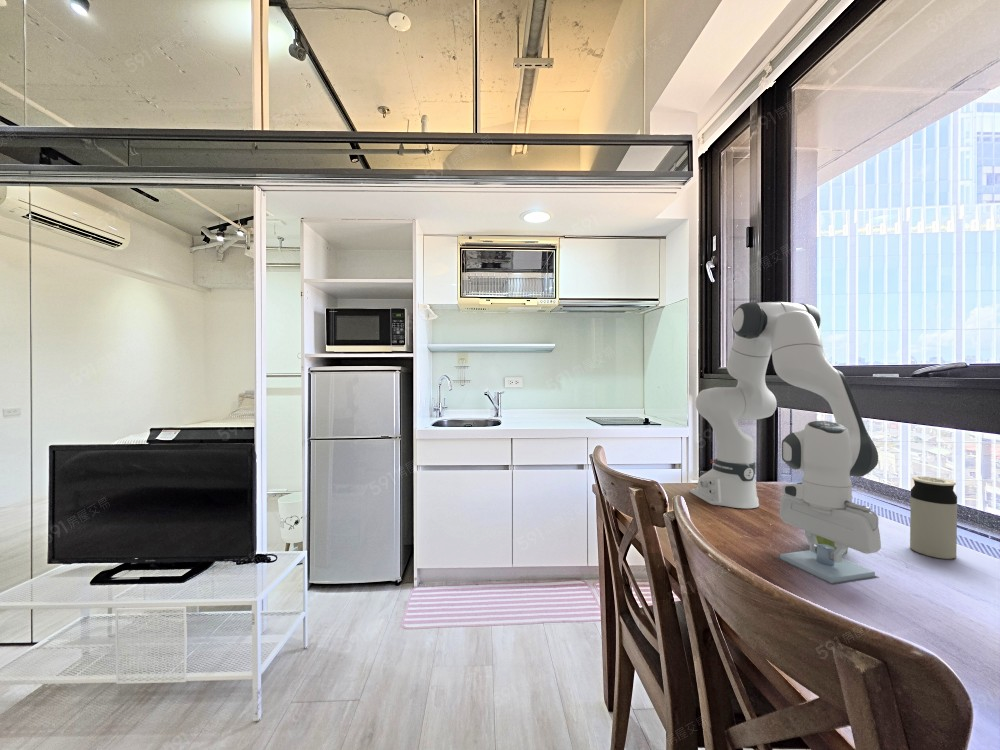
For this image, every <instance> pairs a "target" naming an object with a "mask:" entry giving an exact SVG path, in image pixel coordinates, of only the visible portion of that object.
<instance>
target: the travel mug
mask: <svg viewBox="0 0 1000 750" xmlns="http://www.w3.org/2000/svg"><path fill="white" fill-rule="evenodd" d="M911 479H912V480H913V482H914V483H913V484H914V485H913V487H912V488H911V489H910V510H909V511H910V519H909V521H910V525H909V527H910V528H909V530H910V531H909V533H910V534H909V537H910V538H909V547H910V549H911V550H913V551H914V552H916V553H918V554H921V555H923V556H926V557H931V558H935V559H943V560H951V559H955V558H957V548H958V547H957V545H958V544H957V542H958V541H957V538H958V536H957V535H958V533H957V532H958V495H957V494H956V492H955V491H954V487H955V485H957V484H956V483H957V482H955V481H953V480H950V479H945V478H941V477H934V476H926V475H919V476H918V475H917V476H915V475H914V476H912V478H911Z"/></svg>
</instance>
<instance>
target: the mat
mask: <svg viewBox="0 0 1000 750" xmlns="http://www.w3.org/2000/svg"><path fill="white" fill-rule="evenodd" d="M777 560H781V561H782V562H784V563H786V564H788V565H791V566H792V567H794V568H796V569H798V570H800V571H803V572H805V573H807V574H809V575H811V576H813V577H815V578H817V579H818V580H821V581H822V582H826V583H828V584H830V585H832V586H835V585H839V584H840V585H841V584H847V583H854V582H860V581H864V580H872V579H878V578H880V576H878V575H875V576H874V577H868V578H861V579H855V580H849V581H842V582H836V583H830V582H828V581H826V580H824V579H822V578H820V577H818V576H816V575H814V574H812V573H809V572H807V571H805V570H803V569H801V568H799V567H797V566H795V565H793V564H791V563H789V562H787V561H785V560H783V559H780V556H778V557H777Z"/></svg>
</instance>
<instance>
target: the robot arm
mask: <svg viewBox="0 0 1000 750" xmlns="http://www.w3.org/2000/svg"><path fill="white" fill-rule="evenodd" d="M821 322H822V320H821V315H820V312H819V310H818V309H817V307H815V306H813V305H810V304H807V303H806V304H805V303H802V302H801V303H795V302H788V301H787V302H785V301H774V302H773V301H767V302H766V301H765V302H764V301H763V302H756V301H749V302H745V303H741V304H740V305H738V307H736V309H735V310H734V312H733V315H732V319H731V326H732V330H733V332H734V334H735V336H734V338H733V342H732V345H731V349H730V351H729V356H728V359H727V364H726V370H727V372H728V374H729V375H730V376H731V377H732V378H733V379H735V380H737V384H736V386H729V387H723V386H722V387H721V386H718V387H716V386H715V387H709V388H706V389H705V388H704V389H702V390H701V391H699V393H698V394H697V395H696V398H695V407H696V410H697V412H698V414H699V415H700V416H701V417H702V418H704V420H706V421H707V422H708V423H709V425H710V426H711V428H712V430H713V432H714V435H715V442H716V443H715V445H716V458H715V459H710V463H711V464H713V466H712V468H711V469H710V470H708V471H706V472H705V473H703V474H702V475H700V476H699V478H698V480H697V487H695V488H692V489H690V494H692V495H694V496H696V497H698V498H700V499H701V500H703V501H705V502H706V503H707V504H710V505H712V506H713V505H714V506H722V507H723V506H724V507H728V508H736V509H755V508H758V507H759V506H760V503H759V502H760V501H759V497H758V493H757V483H756V477H755V474H756V468H757V467H756V462H755V441H754V439H753V437H752V436H751V434H749V433H747V432H746V431H743V430H742V429H741V427H740V425H739V420H741V421H749V420H750V421H751V420H752V421H754V420H755V421H756V420H761V419H765V418H766V419H767V418H769V417H771V416H773V414H774V413H775V411H776V410H777V407H778V406H777V398H776V396H775V395H774V393H773V392H772V391H771V390H770V389H769V388H768V386H767V383H766V374H767V369H768V364H769V361H770V359H771V357H772V360H771V361H772V365H773V370H774V371H775V373H776V375H777V377H779V378H780V379H781V380H782V381H784V382H786V383H787V384H788V385H791V386H794V387H796V388H799V389H804V390H807V391H809V392H812V393H814V394H816V395H819V396H820V397H822V398H823V399H824V400H826V402H828V404H829V406H830V410H831V411H832V414H833V418H834V420H835V422H833V421H826V420H814V421H809V422H807V423H806V424H805V427H804V429H802V430H799V431H793V432H790V433H789V434H787V435H786V436H785V437H784V438H783V439H782V440H781V459H782V461H783V462H784V463H785V464H786V465H787V466H788V467H789V468H791V469H792V470H796V471H799V472H803V475H802V478H801V479H802V480H801V481H802V482H797V483H790V484H789V483H788V484H783V485H781V493H782V496H781V497H780V504H779V517H780V518H781V521H782V523H784V524H788V525H789V526H793V527H796V528H797V529H800V530H803V531H804V536H805V538H806V540H807V542H808V544H809V550H810V551H811V552H814V553H816V554H817V544H818V542H817V539H816V537H815V536H817V535H818V536H821V537H823V538H826V539H828V540H831V541H834V542H835V547H837V549H836V550H835V551H834V552H830V560H832V561H834V562H837V563H839V562H842V558H843V555H844V554H846V553H845V551H846V550H847V549H848V550H849V549H852V550H855V551H857V552H860V553H862V554H865V555H868V554H876V553H878V552H879V551H880V550H881V549H882V547H881V545H882V543H881V533H880V528H879V516H878V515H877V513H875V511H874V510H872V509H871V507H869V506H866V505H861V504H858V503H855V502H853V501H852V500H853V495H852V494H853V483H852V482H853V481H852V480H851V477H856V478H857V477H858V478H862V477H864V476H867V475H868V474H869V473H871V472H872V471H874V470H875V468H876V467H877V465H878V463H879V453H878V449H877V446H876V444H875V443H874V441H873V439H872V438H871V436H870V434H869V432H868V431H867V429H866V426H865V424H864V420H863V418H862V416H861V412H860V411H859V408H858V405H857V402H856V400H855V397H854V394H853V392H852V389H851V387H850V385H849V383H848V381H847V378H846V377H845V374H844V373H843V372H842V371H840V370H838V369H836V368H835V367H834V366H833V365H832V364H831V363H830V362H829V360H828V359H827V356H826V355H825V352H824V345H823V341H822V338H821V334H820V330H819V329H820V327H821Z"/></svg>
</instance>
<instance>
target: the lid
mask: <svg viewBox="0 0 1000 750" xmlns="http://www.w3.org/2000/svg"><path fill="white" fill-rule="evenodd" d="M834 551H835V548H834V547H832V546H829V545H825V544H817V554H816V553H814V552H811V551H810V549H808V550H801V551H794V552H793V551H792V552H785V553H779V557H780V559H783V560H785V561H787V562H789V563H791V564H793V565H795V566H797V567H799V568H801V569H803V570H805V571H807V572H809V573H812V574H814V575H816V576H818V577H820V578H822V579H824V580H826V581H828V582H830V583H836V582H842V581H849V580H855V579H861V578H868V577H874V576H876V571H875V570H872V569H870V568H867V567H864V566H862V565H861V564H858V563H855V562H853V561H850V560H848V559H846V558H843V557H842V562H839V563H837V562H834V561H832V560H830V552H834ZM780 559H779V560H780ZM805 571H804V572H805ZM807 572H806V573H807ZM809 573H808V574H809Z"/></svg>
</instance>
